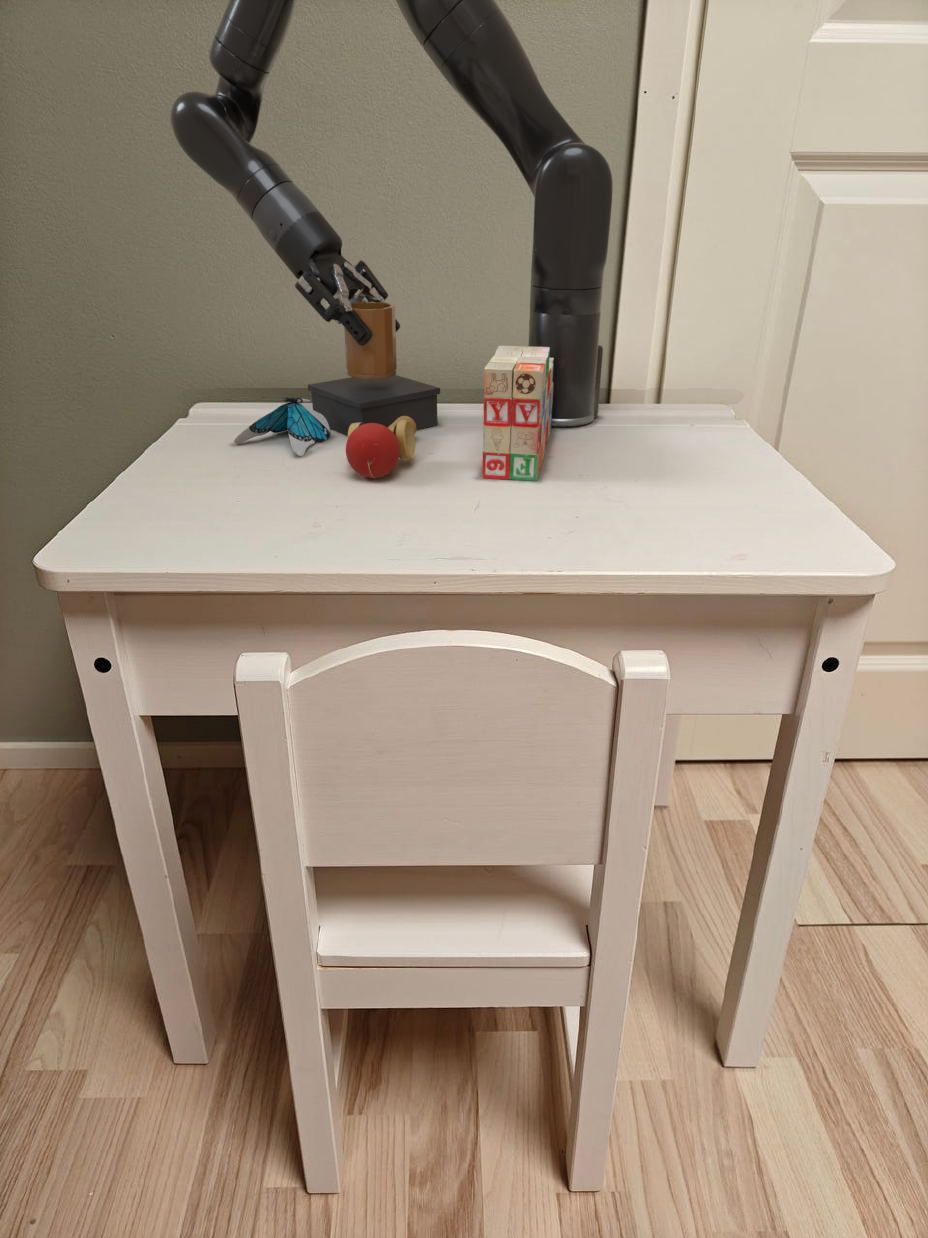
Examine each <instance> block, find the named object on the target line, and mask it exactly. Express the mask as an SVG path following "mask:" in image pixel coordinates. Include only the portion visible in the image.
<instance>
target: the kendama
mask: <svg viewBox="0 0 928 1238" xmlns="http://www.w3.org/2000/svg"><path fill="white" fill-rule="evenodd" d="M416 433H417V430H416V424H415V422H414V420H413V419H412V418H410V417H408V416H401V417H399V418H397V419H396V421H395V422H394V423H392V424H391V425H390V426H389V427H388V428H387V427H386V426H384V425H381V424H377V423H367V424H364V423H362V422H359V423H352V424H351V425H350V427H349V430H348V435H347V439H346V444H345V455H346V460H347V462H348V464H349V466H350V467H351V469H352V470H353V471H354V472H355V473H357V474H358V475H360V476H362V477H365V478H369V479H375V480H376V479H379V478H382V477H385V476H387V475H388V474H390V473H391V472H393V470H394V469H395V468H396V466H397V465H398V463H399V460H400V459H401V460H403V461H407V460H411V459H413V458H414V456H415V452H416V437H415V435H416Z"/></svg>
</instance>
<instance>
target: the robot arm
mask: <svg viewBox="0 0 928 1238" xmlns="http://www.w3.org/2000/svg"><path fill="white" fill-rule="evenodd" d="M395 2H396V3H397V4H396V5H398V8H399V10H400V12H401V14H402V16H403V17H404V19H405V22H406V23H407V25H408V27H409V28H410V31H411V32H412V33H413V36H414V37H415V38H416V40H417V41H418V44H419V45H420V46H421V47H422V48H423V50H424V51H425V53H426V55H427V56H428V57H429V58H430V60H431V61H432V62H433V64H434V66H435V67H436V68H437V69H438V71H439V72H440V74H441V75H442V76H443V77H444V79H445V80H446V81H447V83H448V84H450V87H452V89H453V91H455V92H456V93H457V95H458V96H459V98H461V99H462V100H463V102H464V103H465V104H466V105H467V106H468V107H469V108H470V109H471V110H472V111H473V113H474V114H475V115H476V116H477V117H478V118H479V119H480V120H481V121H482V122H483V123H484V124H485V125H486V127H488V128H489V129H490V130H491V132H492V133H493V134H494V135H495V136H496V137H497V138H498V140H499V142H501V144H502V146H504V148H505V149H506V151H507V152H508V154H509V155H510V157H511V159H512V161H513V162H514V164H515V166H516V167H517V168H518V170H519V172H520V174H521V175H522V177H523V179H524V181H525V182H526V185H527V186H528V188H529V189H530V191H531V193H532V196H533V198H534V201H533V202H534V203H533V204H534V205H533V230H532V231H533V232H532V233H533V234H532V252H531V266H530V293H529V321H528V322H529V324H528V344H527V345H528V346H527V347H550V354H549V358H554V366H553V404H552V422H551V427H559V428H560V427H561V428H565V427H566V428H569V427H579V426H583V425H587V424H590V423H592V422H593V421H594V418H598V417H599V405H600V393H601V379H602V367H603V357H604V356H603V355H604V348H603V346H602V345H601V344H600V343H599V342H600V341H599V340H600V329H601V328H600V327H601V314H602V300H603V286H604V278H605V277H604V276H605V271H606V270H605V269H606V265H607V259H608V252H609V251H608V250H609V240H610V231H611V230H610V229H611V218H612V208H613V207H612V206H613V194H614V193H613V192H614V190H613V189H614V182H613V181H614V179H613V173H612V170H611V167H610V164H609V162H608V161H607V159H606V157H605V155H603V154H602V153H601V151H599V150H598V149H597V148H595V147H594V146H592V145H589V144H586V142H585V141H584V140H583V139H582V138H581V137H580V136H579V134H577V132H575V129H573V128H572V126H571V125H570V124H569V123H568V122H567V121H566V119H565V118H564V117H563V115H562V114H561V113H560V112H559V110H558V109H557V108H556V106H555V105H554V103H552V101H551V99H550V98H549V96H548V95H547V93H546V91H545V90H544V88H543V86H542V84H541V82H540V80H539V78H538V76H537V74H536V72H535V69H534V67H533V66H532V63H531V61H530V59H529V57H528V54H527V52H526V51H525V49H524V46H523V45H522V43H521V42H520V39H519V37H518V36H517V34H516V32H515V30H514V29H513V27H512V25H511V24H510V21H509V20H508V18H507V17H506V15H505V13H504V12H503V10H502V9H501V8H500V6H499V4H498V3H497V1H496V0H395ZM296 3H297V0H228V1H227V4H226V6H225V9H224V12H223V13H222V16H221V19H220V21H219V24H218V25H217V26H218V27H217V29H216V32H215V34H214V36H213V39H212V42H211V45H210V48H209V53H208V59H209V63H210V65H211V67H212V69H213V70H214V72H216V73H217V75H218V81H217V85H216V89H215V92H214V94H213V93H209V92H204V91H198V90H191V91H185V92H183V93H182V94H179V96H177V97H176V98H175V99H174V101H173V104H172V106H171V109H170V114H169V115H170V116H169V117H170V120H169V121H170V126H171V130H172V133H173V136H174V138H175V140H176V142H177V143H178V145H179V147H180V148H181V150H182V151H183V152H184V153H185V154H186V156H187V157H188V158H189V159H190V160H191V161H192V162H193V163H194V164H195V165H196V166H197V167H199V168H200V169H201V170H202V171H203V172H204V173H206V174H207V175H208V176H209V177H210V178H211V179H212V180H213V181H215V182H216V183H217V184H218V185H220V186H221V187H223V188H224V189H225V190H226V191H227V192H228V193H230V194H231V196H232V197H233V198H234V199H235V201H236V202H237V204H238V205H239V206H240V207H241V208H242V210H243V211H244V212H245V213H246V215H247V216H248V217H249V219H250V220H251V221H252V222H253V223H254V225H255V226H256V228H257V230H258V231H259V233H260V234H261V236H262V238H263V239H264V240H265V241H266V243H267V244H268V245H269V246H270V248H271V249H272V250H273V251H274V252H275V254H276V256H277V257H279V259H280V260H281V261H282V262H283V263H284V265H285V267H287V268H288V270H289V271H290V272H291V274H292V275H293V276H294V277H295V278H296V279H297V281H296V283H295V284H294V287H295V289H296V290H297V291H298V292H299V294H301V296H302V297H303V298H304V299H305V300H306V301H307V302H308V303H309V304H310V306H311V307H312V308H313V309H314V310H315V311H316V312H317V313H318V315H319V316H320V317H321V318H322V319H323V320H324V321H325V322H327V323H330V322H331V321H334V322H335V323H336V324H339V325H342V326H343V328H344V327H345V328H346V330H347V331H348V332H349V333H350V335H351V336H352V337H353V338H354V339H355V341H356V342H357V343H358V344H359V345H360V346H362V345H365V344H366V343H367V342H368V341H369V340H370V339H371V338H372V336H373V334H372V332H371V330H370V329H369V328H368V327H367V325H366V324H365V323H364V322H363V320H362V319H361V318H360V317H359V316H358V314H357V313H356V312H355V311H353V312H351V311H352V307H351V304H350V303H355V302H385V301H386V299H388V297H389V293H388V292H387V290H386V289H385V288H384V287H383V285H382V284H381V282H380V280H379V279H378V278H377V276H375V274H374V273H373V271H372V270H371V268H370V267H369V266H368V265H367V263H366V262H365V261H363V260H359V261H358V263H357V264H355V265H353V264H352V263H351V262H350V261H349V260H347V259H346V258H345V257H344V256H343V254H342V248H343V240H342V237H341V236H340V235H339V233H337V231H336V230H335V229H334V228H333V226H332V225H331V224H330V223H329V222H328V220H327V219H326V218H325V216H324V215H323V214H322V213H321V212H320V211H319V209H318V208H317V206H316V205H315V204H314V203H313V202H312V200H311V199H310V198H309V197H308V196H307V195H306V194H305V192H304V191H302V190H301V189H300V188H299V187H298V186H297V184H296V183H295V182H294V181H293V180H292V179H291V177H290V176H289V174H287V172H286V171H285V170H284V169H283V167H282V166H281V165H280V164H279V162H278V161H277V160H276V159H275V158H274V157H273V156H272V155H271V154H270V153H268V152H267V151H265V150H263V149H261V148H258V147H256V146H254V145H252V142H253V140H254V138H255V134H256V132H257V128H258V123H259V119H260V113H261V108H262V105H263V98H264V91H265V84H266V82H267V80H268V77H269V75H270V74H271V71H272V69H273V68H274V65H275V63H276V60H277V58H278V55H279V53H280V51H281V49H282V46H283V45H284V42H285V40H286V37H287V34H288V31H289V28H290V25H291V22H292V19H293V15H294V11H295V6H296ZM358 291H359V292H358ZM356 293H357V294H356ZM322 301H323V304H324V305H323V304H322ZM385 303H386V302H385ZM395 328H396V333H397V332H398V331H399V330H400V329H401V323H400V322H399V321H398V320H397V318H395Z"/></svg>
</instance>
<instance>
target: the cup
mask: <svg viewBox="0 0 928 1238" xmlns="http://www.w3.org/2000/svg"><path fill="white" fill-rule="evenodd" d="M350 304H351V307H352V311H351V312H353V311H355V312H356V313H357V314H358V316H359V317H360V318H361V319H362V320H363V322H364V323H365V324H366V325H367V327H368V328H369V329H370V330H371V332H372V334H373V336H372V338H371V339H370V340H369V341H368V342H367V343H366V344H365V345H362V346H360V345H359V344H358V343H357V342H356V341H355V339H354V338H353V337H352V336H351V335H350V333H349V332H348V331H347V330H346V328H345V327H344V326H343V328H344V329H343V331H344V346H345V366H346V374H347V376H349V378H350V377H354V378H359V379H382V378H388V377H392V376H394V375H397V369H398V367H397V332H396V328H395V319H396V305H394V303H389V302H368V301H366V302H355V303H350Z"/></svg>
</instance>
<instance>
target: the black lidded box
mask: <svg viewBox="0 0 928 1238" xmlns="http://www.w3.org/2000/svg"><path fill="white" fill-rule="evenodd" d="M307 391H308V392H311V401H312V402H311V404H312V410H314V411H316V412H318V413H320V414H322V415H323V416H324V417H325V418H326V420H327V422H328V425H329V427H330V430H332V431H333V430H334V431H335V432H337V433H341V434H342V435H345V436H348V430H349V427H350V425H351V424H352V423H359V422H362V423H364V424H367V423H377V424H381V425H384V426H386V427H387V428H388V427H389V426H390V425H391V424H392V423H394V422H395V421H396V419H397V418H399V417H401V416H408V417H410V418H412V419H413V420H414V422H415V424H416V431H419V430H422V429H427V428H431V427H436V426H438V395H440V394H441V388H440V387H438V386H434V385H431V384H429V383H425V382H421V381H418V380H414V379H411V378H408V377H404V376H401V375H398V374H396V375H394V376H392V377H388V378H382V379H359V378H354V377H350V376H349V377H345V378H339V379H334V380H327V381H321V382H315V383H309V384H307Z"/></svg>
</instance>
